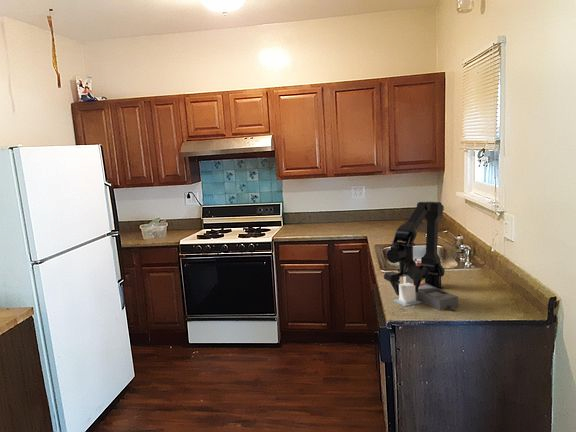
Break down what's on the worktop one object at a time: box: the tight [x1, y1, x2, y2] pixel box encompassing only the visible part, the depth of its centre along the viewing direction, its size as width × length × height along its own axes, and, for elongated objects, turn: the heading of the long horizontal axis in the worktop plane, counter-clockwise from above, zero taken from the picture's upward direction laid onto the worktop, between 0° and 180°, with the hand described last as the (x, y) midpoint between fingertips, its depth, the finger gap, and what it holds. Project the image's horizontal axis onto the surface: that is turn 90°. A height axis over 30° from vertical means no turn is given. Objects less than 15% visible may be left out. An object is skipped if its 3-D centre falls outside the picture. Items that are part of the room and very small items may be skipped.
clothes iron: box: [416, 217, 427, 234], centre depth 327 cm, size 8×16×13 cm, turn 65°
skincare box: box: [402, 261, 418, 284], centre depth 205 cm, size 6×4×12 cm
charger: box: [398, 282, 417, 304], centre depth 187 cm, size 5×5×7 cm
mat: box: [393, 298, 422, 307], centre depth 187 cm, size 8×8×1 cm
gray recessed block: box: [412, 281, 459, 312], centre depth 185 cm, size 9×25×5 cm, turn 20°
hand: (407, 293), depth 187 cm, fingers open, 9 cm apart
